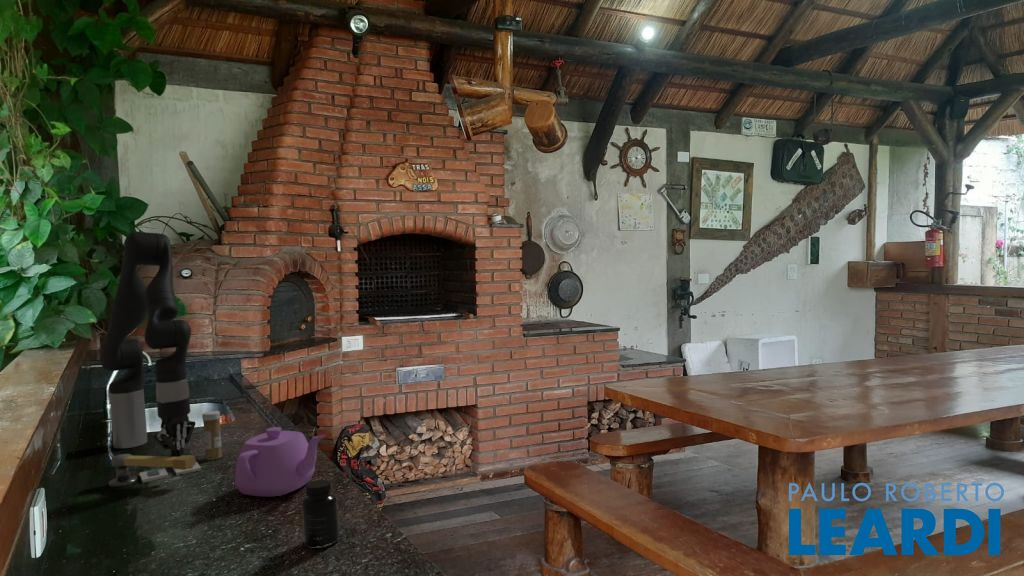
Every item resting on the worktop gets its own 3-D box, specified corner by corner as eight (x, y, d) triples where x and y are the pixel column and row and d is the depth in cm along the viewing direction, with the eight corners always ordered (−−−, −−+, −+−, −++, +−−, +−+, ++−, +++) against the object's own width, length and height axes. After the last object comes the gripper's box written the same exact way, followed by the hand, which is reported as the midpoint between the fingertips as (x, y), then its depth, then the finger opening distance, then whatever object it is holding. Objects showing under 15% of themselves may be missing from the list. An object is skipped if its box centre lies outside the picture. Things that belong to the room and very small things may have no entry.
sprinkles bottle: (223, 458, 186) (220, 412, 185) (206, 461, 184) (203, 415, 183) (221, 454, 190) (218, 409, 189) (204, 457, 188) (200, 412, 187)
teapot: (212, 504, 151) (208, 441, 150) (271, 474, 171) (268, 417, 170) (295, 513, 144) (291, 446, 144) (347, 480, 164) (343, 421, 164)
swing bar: (121, 461, 171) (120, 452, 171) (196, 464, 167) (195, 454, 166) (107, 467, 167) (107, 458, 167) (184, 469, 162) (184, 460, 162)
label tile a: (139, 475, 174) (139, 471, 174) (164, 470, 177) (164, 466, 177) (142, 482, 168) (142, 478, 168) (168, 477, 172) (168, 473, 172)
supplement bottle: (308, 535, 132) (305, 478, 132) (342, 533, 133) (339, 476, 132) (300, 551, 125) (296, 490, 125) (336, 548, 126) (332, 488, 125)
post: (108, 482, 170) (106, 465, 169) (136, 476, 173) (134, 459, 173) (109, 489, 164) (108, 471, 164) (138, 483, 168) (137, 465, 168)
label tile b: (172, 469, 179) (172, 465, 178) (196, 464, 182) (196, 460, 182) (176, 475, 173) (176, 471, 173) (201, 470, 176) (200, 466, 176)
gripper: (177, 391, 175) (182, 454, 176) (141, 403, 162) (146, 471, 163) (202, 391, 173) (207, 454, 175) (167, 403, 161) (173, 472, 162)
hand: (178, 462), depth 169 cm, fingers closed
